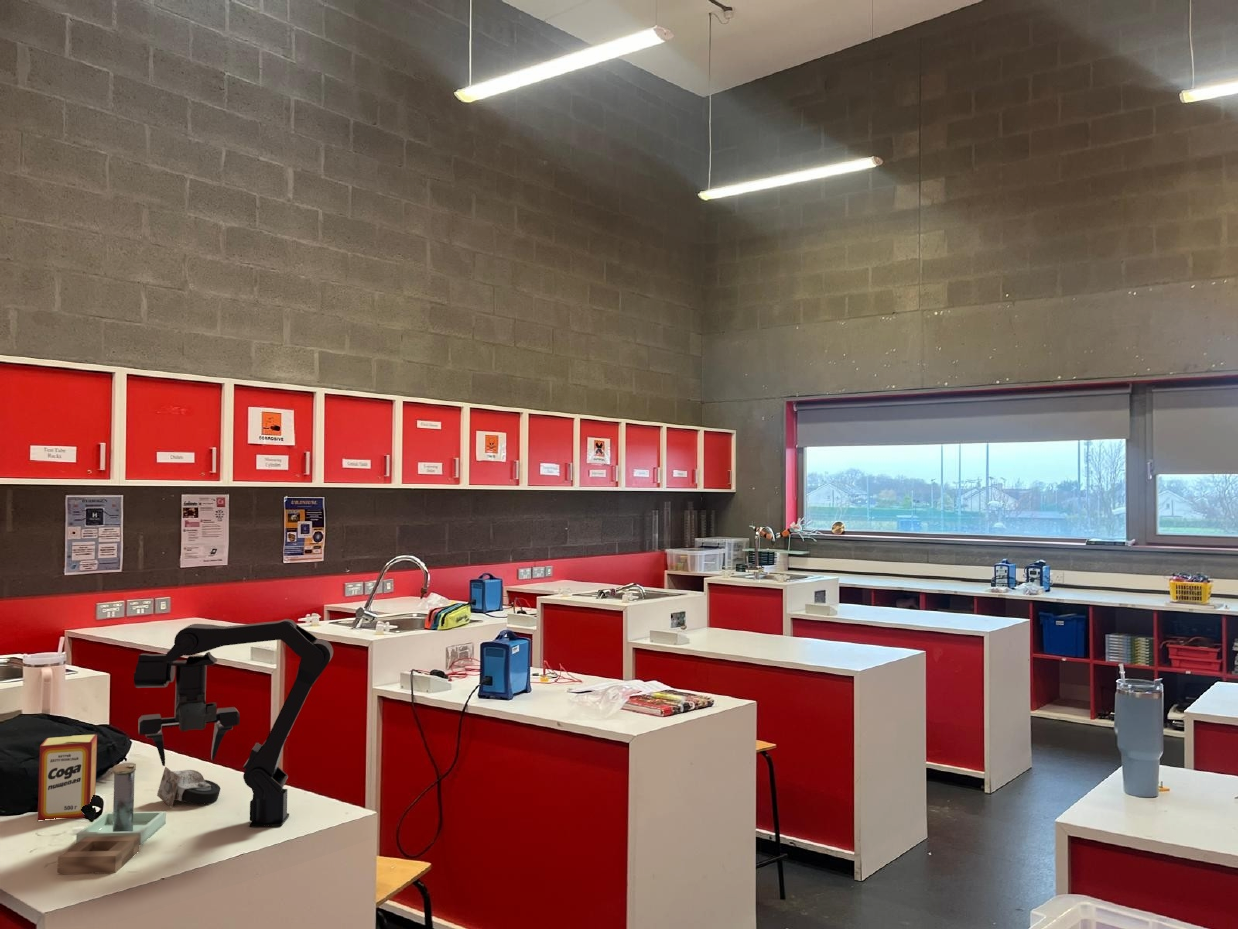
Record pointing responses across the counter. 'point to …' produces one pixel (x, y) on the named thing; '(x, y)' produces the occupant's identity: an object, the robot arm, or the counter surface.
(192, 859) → the counter surface
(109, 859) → the block
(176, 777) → the caster wheel
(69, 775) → the baking soda box
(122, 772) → the pin
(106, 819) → the tray
